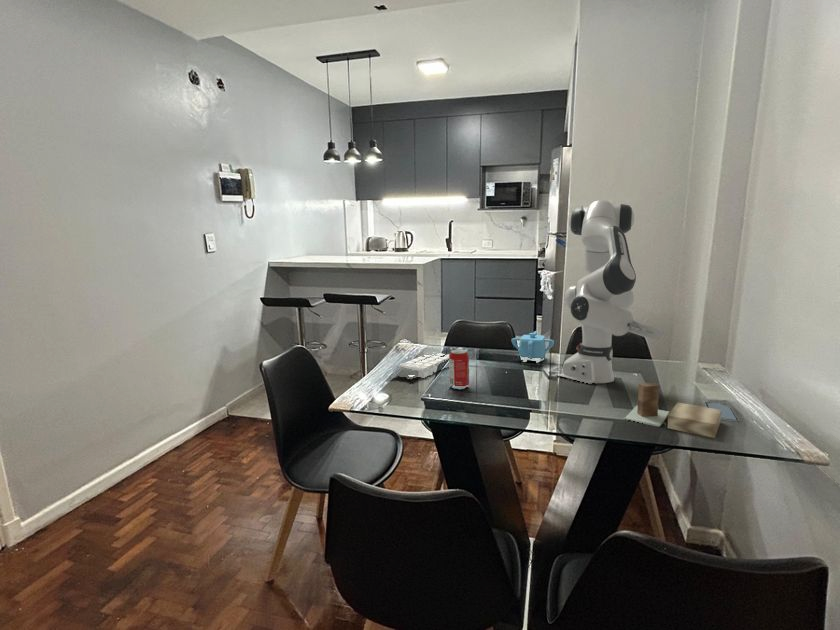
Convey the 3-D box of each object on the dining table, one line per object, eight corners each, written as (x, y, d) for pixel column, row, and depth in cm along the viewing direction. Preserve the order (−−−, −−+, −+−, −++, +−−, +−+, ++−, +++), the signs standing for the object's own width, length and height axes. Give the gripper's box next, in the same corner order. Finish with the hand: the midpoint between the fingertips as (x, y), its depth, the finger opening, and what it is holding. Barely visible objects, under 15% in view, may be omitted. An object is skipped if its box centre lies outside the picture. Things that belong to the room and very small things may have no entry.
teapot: (557, 362, 214) (557, 334, 212) (526, 366, 209) (527, 337, 207) (535, 354, 231) (535, 328, 229) (507, 357, 226) (507, 331, 224)
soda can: (446, 389, 178) (445, 352, 176) (454, 384, 185) (453, 348, 182) (464, 392, 174) (464, 354, 172) (472, 386, 181) (471, 349, 179)
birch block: (667, 428, 136) (668, 415, 135) (676, 414, 147) (677, 402, 146) (714, 437, 128) (715, 424, 128) (720, 422, 139) (721, 410, 139)
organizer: (454, 355, 215) (413, 373, 186) (454, 364, 216) (413, 384, 187) (430, 352, 222) (387, 369, 193) (431, 361, 223) (388, 380, 194)
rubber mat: (624, 419, 143) (624, 418, 143) (636, 407, 154) (636, 405, 154) (659, 427, 137) (659, 425, 137) (669, 413, 148) (669, 411, 147)
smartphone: (711, 418, 142) (703, 401, 156) (711, 421, 142) (703, 404, 156) (740, 421, 139) (729, 404, 153) (739, 424, 139) (729, 406, 153)
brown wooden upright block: (641, 416, 144) (643, 386, 142) (637, 413, 147) (638, 383, 145) (657, 416, 144) (659, 385, 142) (652, 412, 147) (654, 383, 145)
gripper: (647, 319, 129) (679, 331, 135) (598, 304, 148) (628, 315, 153) (639, 340, 130) (671, 351, 136) (591, 322, 149) (621, 332, 154)
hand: (648, 331), depth 145 cm, fingers open, 8 cm apart
